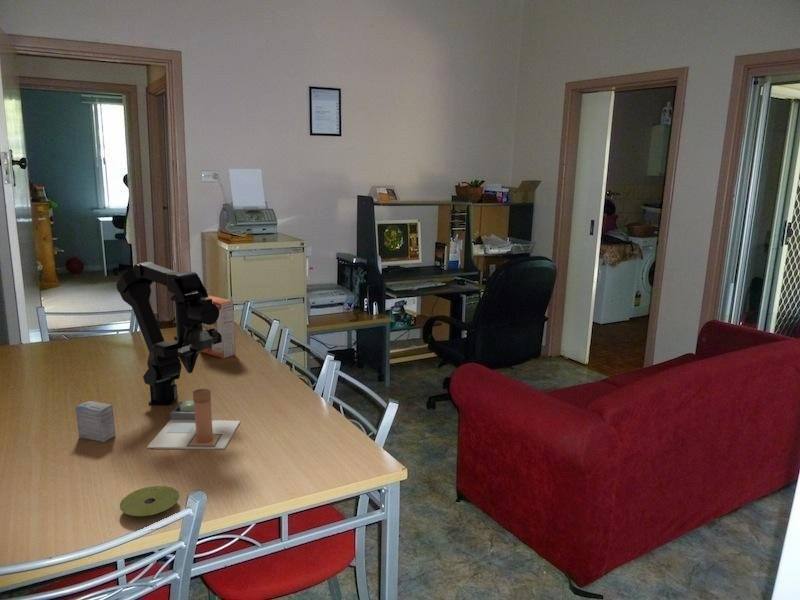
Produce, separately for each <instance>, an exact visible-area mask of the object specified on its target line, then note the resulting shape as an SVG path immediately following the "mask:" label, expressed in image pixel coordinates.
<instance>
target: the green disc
mask: <svg viewBox="0 0 800 600" xmlns="http://www.w3.org/2000/svg"><path fill="white" fill-rule="evenodd" d="M179 498H180V493H179V491H178V490H177V489H176V488H173V487H171V486H166V485H155V486H147V487H144V488H140V489H136V490H134V491H133V492H130V493H129V494H127V495H126V496H125V497H123V498H122V499H121V500H120V502H119V509H120V511H121V512H123V513H124V514H125V515H127V516H133V517H134V516H135V517H147V516H152V515H153V516H154V515H157V514H159V513H162V512H164V511H167V510H168V509H170V508H172V507H173V506H175V504H176V503H177V502H178V500H179Z"/></svg>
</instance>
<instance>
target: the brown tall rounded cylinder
mask: <svg viewBox="0 0 800 600" xmlns="http://www.w3.org/2000/svg"><path fill="white" fill-rule="evenodd" d="M192 401H194V411H195V426H196V441H197V442H198V443H201V444H204V443H209V442H211V441H212V440H213V429H212V420H213V417H212V391H211V389H209V388H199V389H195V390H194V391H192Z"/></svg>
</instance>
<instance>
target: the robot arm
mask: <svg viewBox="0 0 800 600" xmlns="http://www.w3.org/2000/svg"><path fill="white" fill-rule="evenodd" d="M153 283H156V284H159V285H163V286H165V287H166V290H167V291H168V292H169V293H171V294H173V295H172V296H171V297H170V298H169V299H170V301H171V302H174V309H175V310H174V312H175V321H173V322H172V323H173V327H175V329H176V335H175V336H174V335H173V340H174V341H176V342H171V341H168V340H165V339H164V335H163V333H162V330H161V328H160V325H159V323H158V321H157V318H156V315H155V313H154V310H153V307H152V305H151V302H150V298H151V294H152V287H151V286H152V284H153ZM116 290H117V292H118V293H119V295H120V297H121V300H123V302H125V303H126V304H127V305H129V306H130V307H131V309H132V311H133V313H134V316H135V319H136V321H137V324H138V326H139V329H140V332H141V334H142V337H143V339H144V341H145V344H146V345H145V346H146V347H147V350H148V353H149V354H148V357H147V364H146V365H147V368H148V369H147V370H146V371H145V373H144V374H143V375H142V378H143V381H144V384H145V385H149V393H150V394H149V395H150V400H149V401H148V405H153V406H154V405H158V406H159V405H160V406H161V405H162V406H163V405H164V406H166V405H167V406H169V405H172V404H173V403H174V402H175V401H176V400H177V399H178V397H179V395H178V384H176V380H179V379H180V376H181V371H182V365H183V367H184V369H185V370H186V372H187V373H188V374H191V373H192V374H193V371H194V368H195V365H196V362H197V359H198V357H199V355H200V353H202V352H201V351H203V350H205V349H207V348H211V347H212V344H217V343H221V342H222V336H221V334H220V333H219V332H218V331H217V329H215V328H212V329H209V330H208V329H206V330H204V329H203V328H202V324H201V323H203V324H206V325H212V324H214V323H215V322H216V321H217V319H218V317H219V310H218V307H217V306H216V305H215V304H212V299H209V298H208V299H206V298H207V297H208V292H207V289H206V288H205V286H204V283H203V282H202V280H201V278H200V276H199V274H198V273H197V272H195V271H187V270H186V271H176V270H173V269H170V268H167V267H163V266H161V265H158V264H155V263H154V262H152V261H145V262H138V263H136V264H134V265H133V267H132V268H131V269H129V270H127V271H126V272H124V273H123V274H121V276H120V278H119V279H118V280H117V282H116Z"/></svg>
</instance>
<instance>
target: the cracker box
mask: <svg viewBox="0 0 800 600" xmlns="http://www.w3.org/2000/svg"><path fill="white" fill-rule="evenodd" d="M208 298H209V299H212V304H215V305H216V306H217V307H218V310H219V317H218V319H217V321H216V322H215V323H214V324H212V325H206V324H203V323H201V324H202V328H203V329H204V330H206V329H208V330H209V329H212V328H215V329H217V331H218V332H219V333H220V334H221V336H222V342H221V343H217V344H212V347H211V348H207V349H205V350H203V351H201V352H200V353H203V354H208V355H210V356H214V357H217V358H220V359H223V360H224V359H228V358H231V357H233V356H236V337H235V336H236V335H235V315H234V300H230V299H227V298H222V297H218V296H215V295H214V296H213V295H208V297H207V298H206V299H208Z"/></svg>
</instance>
